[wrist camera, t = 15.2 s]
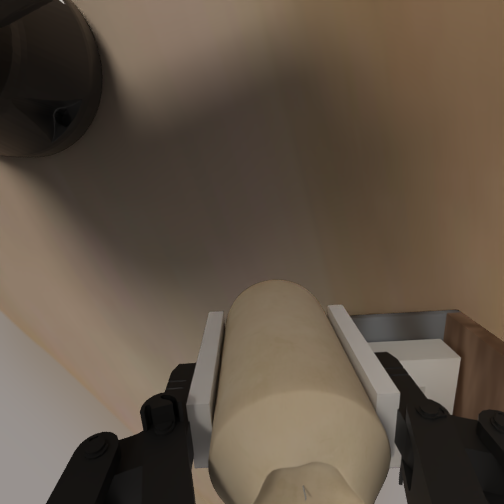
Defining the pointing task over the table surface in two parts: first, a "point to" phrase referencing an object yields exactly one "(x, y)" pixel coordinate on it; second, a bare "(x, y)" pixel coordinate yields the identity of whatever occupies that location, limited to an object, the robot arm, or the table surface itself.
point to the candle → (291, 408)
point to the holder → (425, 371)
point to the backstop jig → (460, 341)
